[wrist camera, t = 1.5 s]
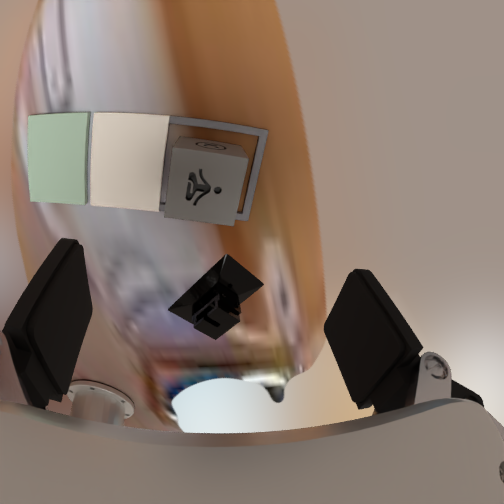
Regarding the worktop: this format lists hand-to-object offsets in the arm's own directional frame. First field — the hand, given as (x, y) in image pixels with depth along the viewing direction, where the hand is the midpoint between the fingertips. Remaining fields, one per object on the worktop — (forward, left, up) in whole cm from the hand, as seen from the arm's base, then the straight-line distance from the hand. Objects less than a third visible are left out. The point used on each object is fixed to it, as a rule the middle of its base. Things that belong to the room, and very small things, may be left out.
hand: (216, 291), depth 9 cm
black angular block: (-14, -2, -17) cm, 22 cm away
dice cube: (0, 0, -16) cm, 16 cm away
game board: (0, +7, -16) cm, 17 cm away
